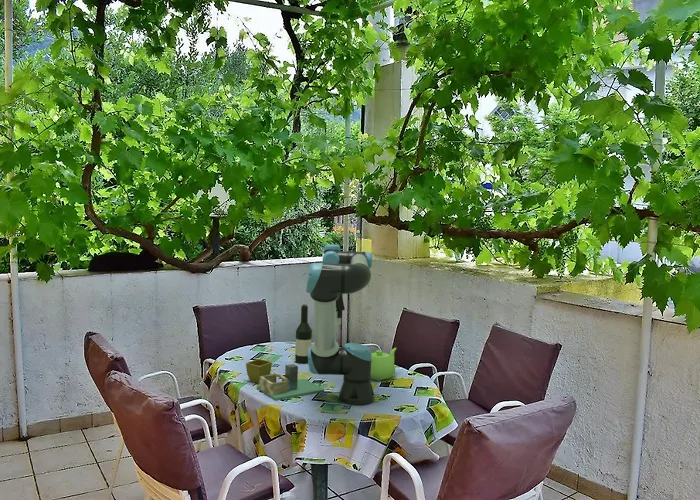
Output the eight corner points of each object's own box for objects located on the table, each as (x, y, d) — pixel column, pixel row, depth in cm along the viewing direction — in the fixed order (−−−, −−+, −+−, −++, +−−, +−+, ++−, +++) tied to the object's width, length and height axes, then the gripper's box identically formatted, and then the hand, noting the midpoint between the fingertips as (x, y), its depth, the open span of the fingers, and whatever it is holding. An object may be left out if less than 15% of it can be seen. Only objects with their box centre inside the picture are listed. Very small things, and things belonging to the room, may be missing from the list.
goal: (287, 393, 256) (288, 378, 255) (271, 396, 251) (271, 381, 251) (275, 385, 266) (275, 371, 265) (259, 388, 261) (259, 374, 261)
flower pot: (259, 385, 267) (259, 366, 266) (245, 382, 272) (245, 362, 271) (272, 380, 275) (272, 361, 274) (257, 377, 279) (258, 358, 278)
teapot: (384, 369, 299) (385, 344, 298) (406, 376, 288) (407, 350, 287) (352, 377, 284) (353, 350, 282) (375, 385, 273) (376, 357, 272)
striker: (297, 388, 260) (298, 366, 259) (287, 390, 257) (287, 368, 256) (292, 385, 264) (292, 363, 263) (282, 387, 261) (282, 365, 261)
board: (324, 391, 261) (324, 389, 261) (275, 400, 248) (275, 398, 248) (304, 380, 276) (304, 378, 276) (256, 388, 263) (256, 386, 263)
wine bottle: (314, 361, 309) (315, 304, 306) (304, 365, 302) (306, 307, 299) (301, 358, 313) (303, 302, 311) (291, 362, 306) (293, 305, 304)
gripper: (353, 280, 270) (351, 326, 272) (324, 273, 291) (323, 316, 293) (339, 281, 266) (337, 327, 268) (311, 274, 287) (310, 317, 288)
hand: (330, 322), depth 280 cm, fingers open, 13 cm apart
